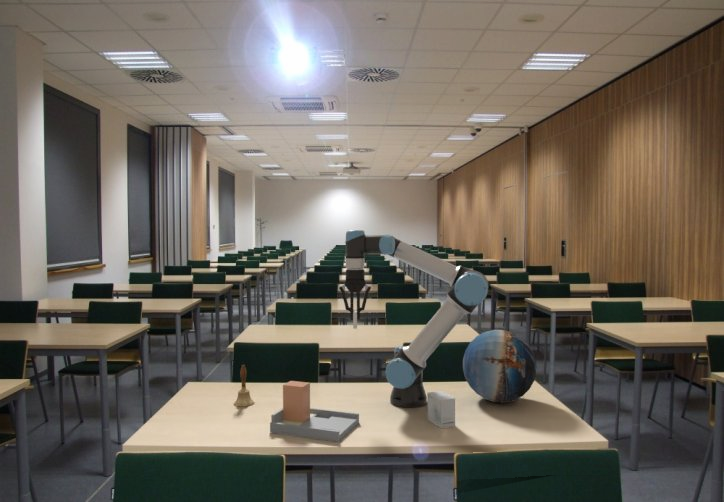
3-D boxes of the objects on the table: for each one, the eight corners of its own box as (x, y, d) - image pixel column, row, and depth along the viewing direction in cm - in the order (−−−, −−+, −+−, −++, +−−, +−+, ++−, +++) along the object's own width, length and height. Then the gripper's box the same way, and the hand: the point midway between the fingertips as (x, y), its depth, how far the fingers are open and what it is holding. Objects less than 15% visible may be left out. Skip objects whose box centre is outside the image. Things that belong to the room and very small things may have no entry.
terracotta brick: (310, 417, 204) (310, 382, 204) (302, 422, 199) (302, 387, 198) (290, 415, 207) (290, 380, 207) (283, 420, 201) (282, 384, 201)
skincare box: (426, 419, 208) (426, 392, 208) (441, 417, 210) (441, 390, 210) (440, 428, 198) (440, 399, 198) (455, 426, 201) (455, 398, 200)
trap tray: (359, 422, 204) (359, 406, 204) (338, 442, 186) (338, 424, 185) (296, 414, 213) (295, 399, 213) (270, 432, 195) (270, 415, 194)
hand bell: (229, 405, 225) (229, 366, 225) (241, 399, 233) (241, 362, 232) (246, 407, 222) (246, 368, 222) (258, 402, 230) (257, 364, 229)
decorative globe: (529, 366, 249) (463, 354, 254) (542, 321, 229) (469, 309, 235) (529, 423, 226) (455, 409, 232) (543, 378, 207) (462, 364, 213)
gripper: (371, 268, 223) (371, 326, 224) (339, 268, 223) (339, 326, 224) (371, 269, 216) (371, 329, 217) (338, 269, 216) (338, 329, 217)
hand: (355, 327), depth 220 cm, fingers closed
